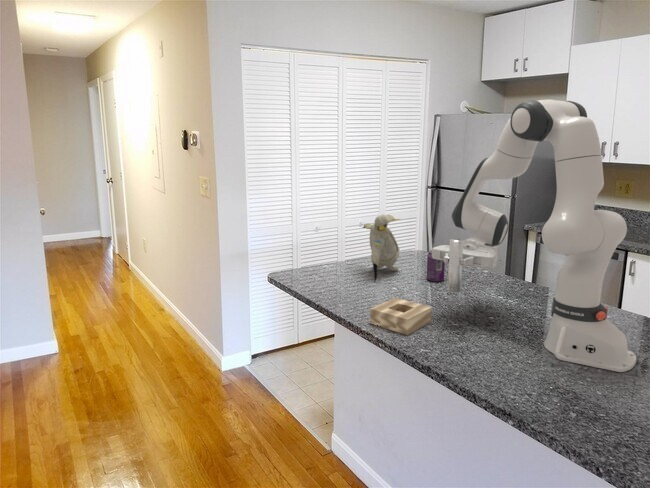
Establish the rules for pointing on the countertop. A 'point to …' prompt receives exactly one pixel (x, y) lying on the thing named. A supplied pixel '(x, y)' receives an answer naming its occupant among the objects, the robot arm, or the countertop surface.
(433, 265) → the beverage can
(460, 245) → the pin
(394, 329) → the socket block
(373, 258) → the figurine
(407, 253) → the countertop surface
